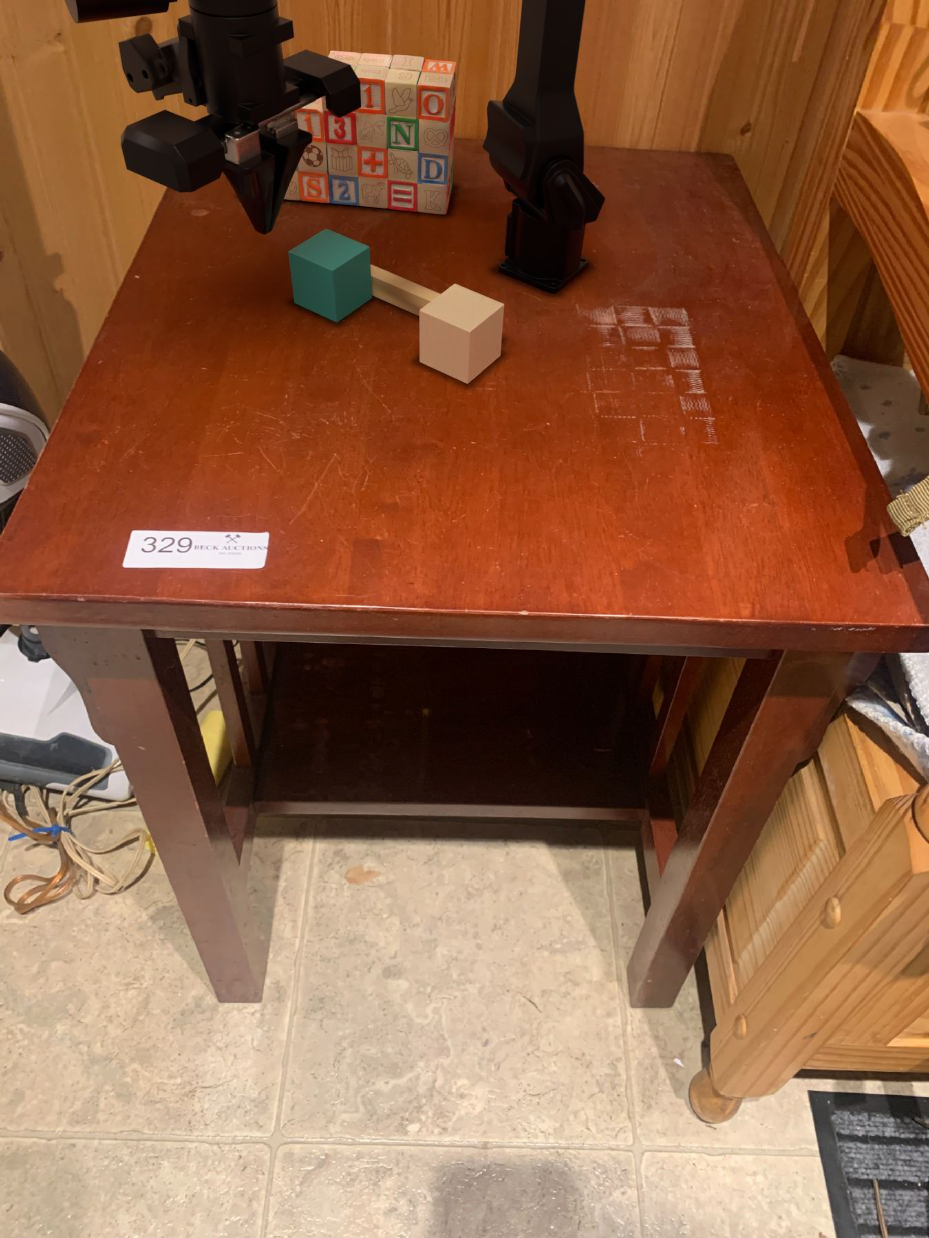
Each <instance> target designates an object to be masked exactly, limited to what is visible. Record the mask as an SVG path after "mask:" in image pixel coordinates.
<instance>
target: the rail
mask: <svg viewBox="0 0 929 1238" xmlns="http://www.w3.org/2000/svg"><path fill="white" fill-rule="evenodd" d="M370 265H371V286H372V297H374V298H377V299H380V300H381V301H384V302H386V303H387V304H391V305H393V306H395V307H397V308H400V309H402V310H404V311H405V312H406V311H407V312H408V313H411V314H413V315H415V316H418V317H419V310H420V309H422V308H423V307H424V306H426V305H427V304H428V303H430V302H431V301H432V300H434V299H435V298H436V297H438V296H439V295H440V294H441V293H440V292H437V291H435V290H432V289H430V288H427V287H425V286H423V285H421V284H419V283H416V282H413V281H411V280H408V279H407V278H404V277H402V276H400V275H397V274H394V273H392V272H390V271H388V270H386V269H383V268H381V267H378V266H376V265H374V264H372V263H370Z"/></svg>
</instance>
